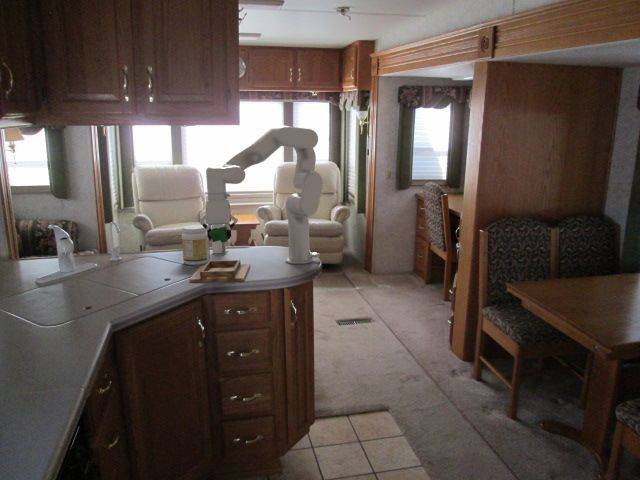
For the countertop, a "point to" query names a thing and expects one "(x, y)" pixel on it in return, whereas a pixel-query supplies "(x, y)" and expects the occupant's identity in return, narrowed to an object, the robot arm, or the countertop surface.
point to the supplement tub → (195, 245)
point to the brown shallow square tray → (221, 271)
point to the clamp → (219, 234)
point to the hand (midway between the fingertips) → (219, 238)
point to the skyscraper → (218, 244)
